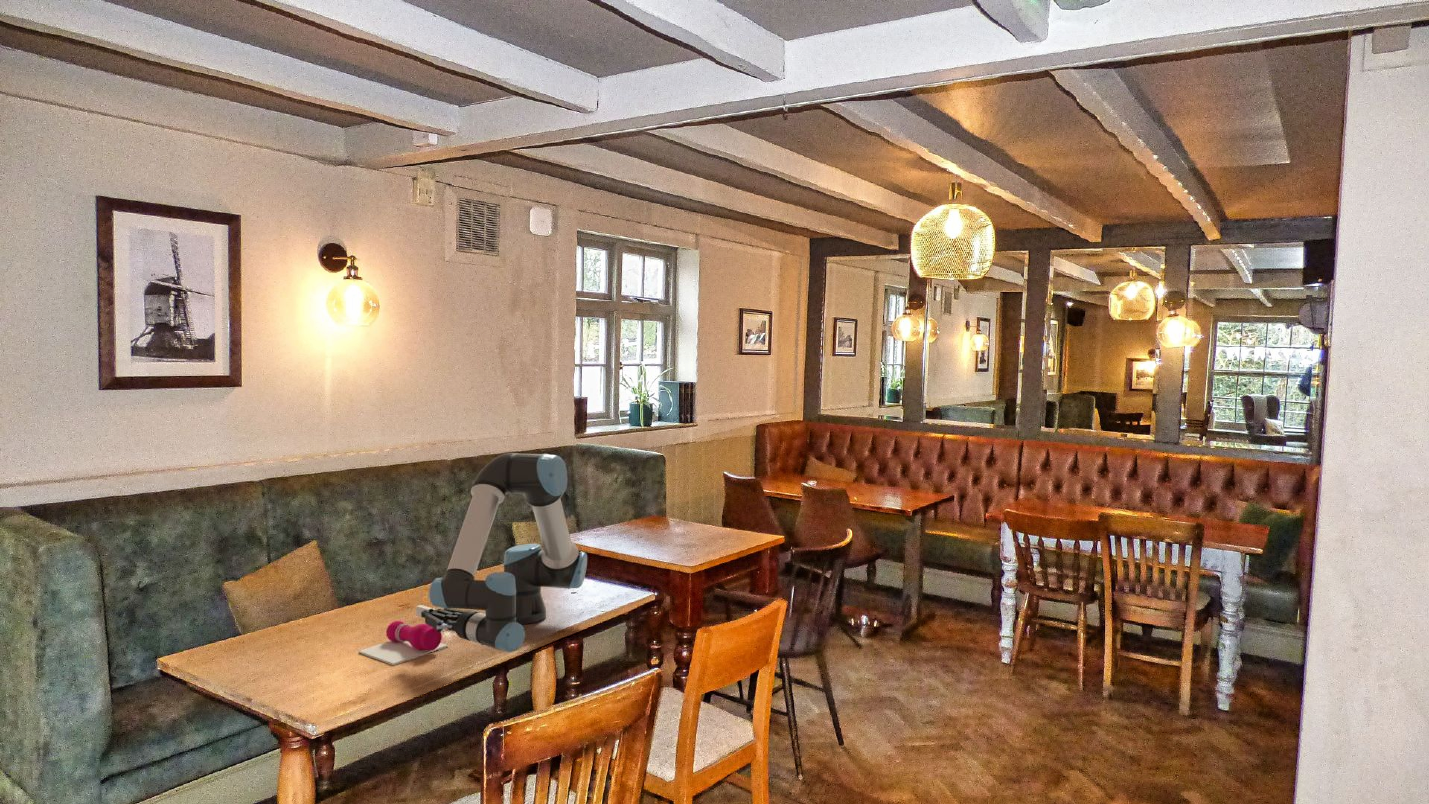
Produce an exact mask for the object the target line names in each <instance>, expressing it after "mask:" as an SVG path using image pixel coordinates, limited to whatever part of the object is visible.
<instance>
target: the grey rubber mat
mask: <svg viewBox="0 0 1429 804" xmlns="http://www.w3.org/2000/svg"><path fill="white" fill-rule="evenodd" d="M445 647H447V648H448V644H446V643H442V642H440V644H439V646H438V647H437V648H436V649H434V650H426V649H425V650H418V649H415V648H414V647H413V646H412V645H411V644H410V643H409V642H408V641H406V642H401V641H400V642H393V641H391V640H389V641H386V642H383V643H380V644H376V645H372V646H370V647H367V648H364V649H360V650H358V654H360V653H361V654H360V655H364V656H366V657H369V658H371V659H375V660H377V661H380V662H383V663H386V664H387V665H392V666H396V665H400V664H402V663H405V661H406V662H409V661H410V660H411V659H412V660H415V659H417V658H420V657H423V656H425V654H426V655H429V654H431V653H430V652H432V653H434V651H435V652H437V651H436V650H438V651H440V649H441V650H443V648H444V649H446V648H445ZM428 653H429V654H428ZM422 655H423V656H422ZM419 656H420V657H419Z"/></svg>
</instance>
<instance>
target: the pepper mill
mask: <svg viewBox="0 0 1429 804" xmlns="http://www.w3.org/2000/svg"><path fill="white" fill-rule="evenodd" d="M385 634H386V637H387V640H389V641H393V642H400V641H401V642H406V641H408V642H409V643H410V644H411V645H412V646H413V647H414V648H415V649H418V650H425V649H426V650H434V649H436V648H437V647H438V646H439V644H440V643H442V640H443V639H442V638H443V635H442V631H441V632H437V630H436V629H434V628H433V627H431V626H429V625H427V624H426V623H420V624H419V623H418V624H417V625H414V626H411V625H410V624H408V623H406V622H404V621H402V620H394V621H393V622H391V623H389V625H388V626H387V628H386V632H385Z"/></svg>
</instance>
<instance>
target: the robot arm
mask: <svg viewBox="0 0 1429 804" xmlns="http://www.w3.org/2000/svg"><path fill="white" fill-rule="evenodd" d="M568 479H569V478H568V470H567V466H566V463H565V461H564V460H563V458H562V457H561V456H560V455H557V454H549V453H517V452H508V453H507V452H506V453H503V454H501V455H498V456H496V457H494V458H492V460H490V461H489V462H488V463H487V464H486V465H484V467H482V468H481V470H480V471H479V472H478V474H477V476H476V477H475V478H474V481H473V483H472V486H471V489H470V494H471V496H472V497H471V500H470V501H469V502H470V503H469V506H468V509H467V512H466V514H465V518H464V520H463V522H462V526H461V529H460V531H459V535H458V537H457V540H456V543H455V546H454V549H453V552H452V556H451V558H450V561H449V563H448V567H447V570H446V572H445V574H444V576H443V577H442V576H441V577H436V578H435V579H434V580H433V581H432V582H431V584H430V587H429V591H428V592H429V593H428V597H429V601H430V603H431V605H432V606H433V607H435V608H436V607H437V608H438V609H435V608H433V607H429V606H426V605H422V604H419V605H416V608H415V610H416V611H415V613H416V616H417V617H419V618H424V624H427V625H429V626H431V627H433V628H434V629H436V630H437V632H441V633H442V631H443V630H444V629H447V630H448V631H452V632H455V634H456V635H457V636H458V637H459V638H460V639H462V640H466V641H470V642H473V643H477V644H479V645H481V646H486V647H490V648H491V649H494V650H495V649H496V650H497V651H502V652H509V653H512V652H515V651H517V650H519V648H520V647H521V646H522V645H523V643H524V641H525V637H526V631H525V629H524V627H523V625H527V624H528V623H529V624H534V623H537V622H541V621H543V620H544V619H545V618H547V608H546V605H545V602H544V599H543V596H542V592H541V589H542V588H555V589H567V590H570V589H580V588H581V587H582V586H583V583H584V581H585V577H586V572H587V566H588V555H587V552H585V551H579V547H578V545H576V543H575V542H573V541H572V540H571V535H570V531H569V528H568V523H567V520H566V519H567V518H566V515H565V511H564V508H563V503H562V499H561V498H562V496H563V495H564V493H565V492H566V490H567V486H568ZM508 494H517V495H518V494H519V495H522V497H523V499H524V501H525V502H526V504H527V505H529V506H531V507H532V511H533V515H534V519H535V521H536V525H537V529H538V532H539V536H540V540H541V542H542V543H541V544H542V545H541V544H539V543H525V544H519V545H515V546H511V547H510V548H508V549H507V550H505V552H504V558H503V571H500V572H497V571H496V572H491V573H488V574H487V575H486V577H485V580H483V579H475V577H476V574H477V571H478V568H479V565H480V562H481V559H482V556H483V553H484V550H485V546H486V544H487V541H488V538H489V535H490V533H491V528H492V526H493V523H494V519H495V517H496V514H497V511H498V507H499V505H500V504H501V503H503V502H504V500H505V497H506V496H507V495H508ZM479 611H485V613H483V612H479ZM540 620H541V621H540Z"/></svg>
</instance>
